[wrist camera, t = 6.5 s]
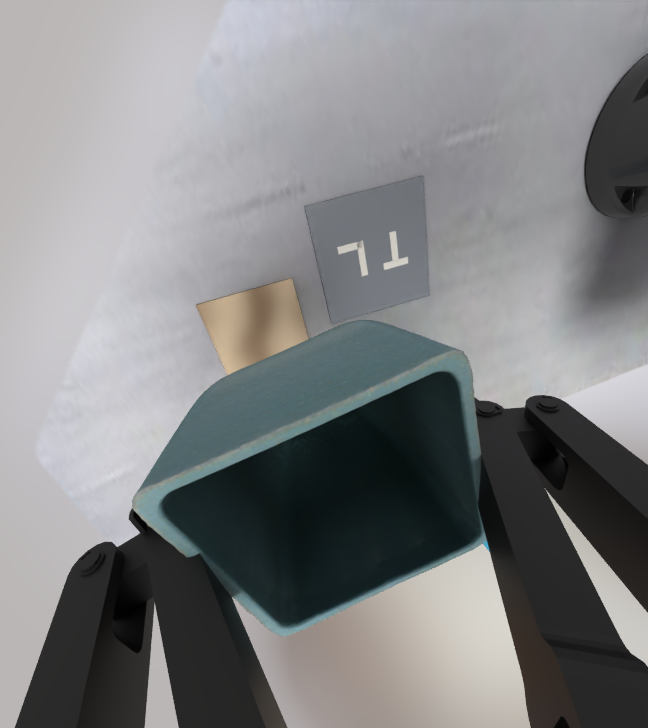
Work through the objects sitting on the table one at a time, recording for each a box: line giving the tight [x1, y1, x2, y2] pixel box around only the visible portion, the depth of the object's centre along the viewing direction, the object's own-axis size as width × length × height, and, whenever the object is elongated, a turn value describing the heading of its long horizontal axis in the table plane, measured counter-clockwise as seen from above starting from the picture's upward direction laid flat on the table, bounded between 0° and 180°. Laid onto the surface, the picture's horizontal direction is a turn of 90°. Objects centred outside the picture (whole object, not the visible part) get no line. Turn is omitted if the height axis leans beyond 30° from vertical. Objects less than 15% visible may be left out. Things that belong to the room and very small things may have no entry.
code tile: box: [304, 176, 430, 324], centre depth 30 cm, size 12×12×1 cm
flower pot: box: [132, 320, 487, 636], centre depth 12 cm, size 9×9×9 cm
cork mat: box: [196, 278, 309, 375], centre depth 31 cm, size 10×10×1 cm
